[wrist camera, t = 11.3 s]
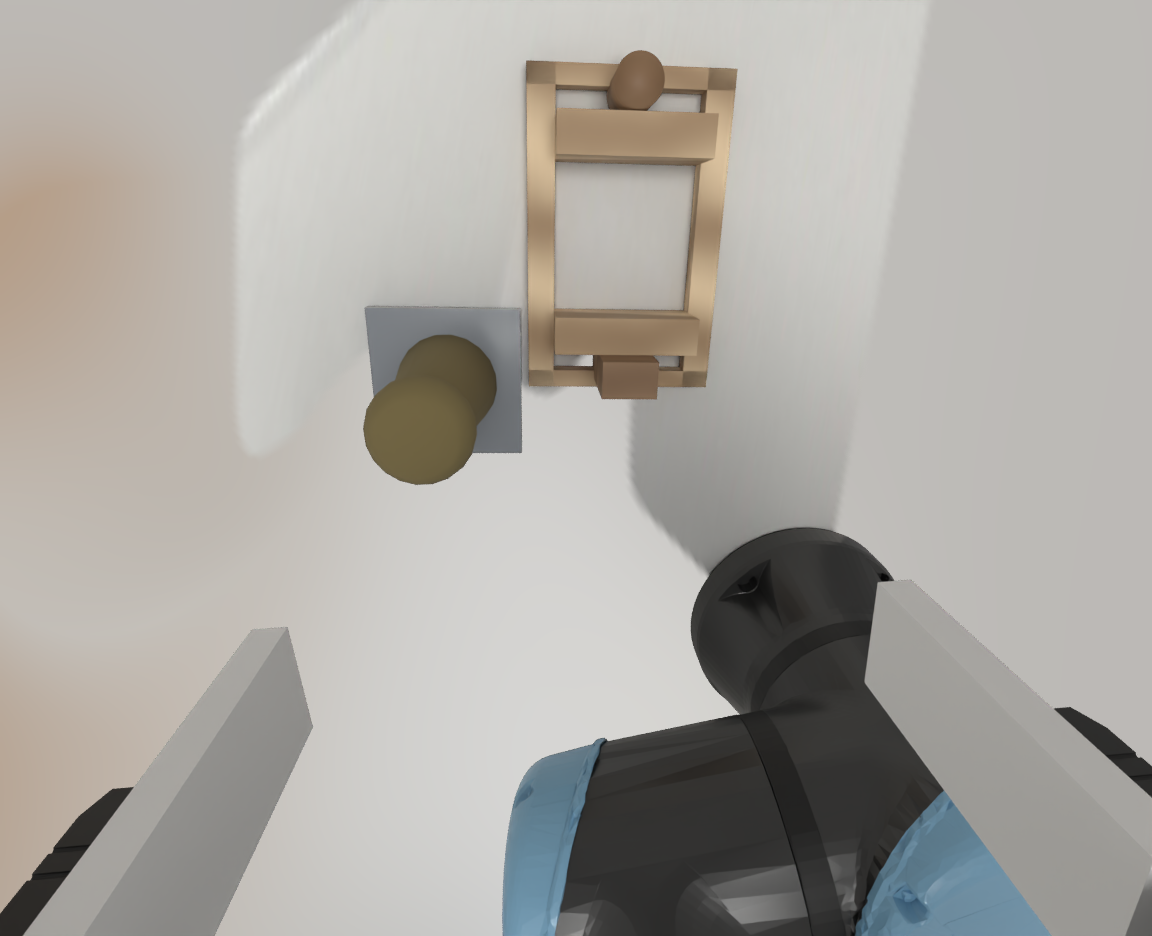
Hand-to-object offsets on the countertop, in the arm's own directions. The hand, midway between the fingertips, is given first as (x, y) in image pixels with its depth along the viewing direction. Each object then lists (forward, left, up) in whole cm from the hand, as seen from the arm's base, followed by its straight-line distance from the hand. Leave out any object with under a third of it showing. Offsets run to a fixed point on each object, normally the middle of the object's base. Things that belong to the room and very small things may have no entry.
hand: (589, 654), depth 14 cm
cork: (0, +7, -26) cm, 27 cm away
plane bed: (+8, -4, -27) cm, 28 cm away
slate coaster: (0, +7, -27) cm, 28 cm away
